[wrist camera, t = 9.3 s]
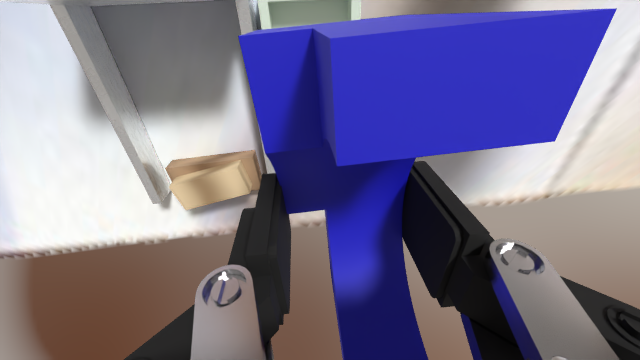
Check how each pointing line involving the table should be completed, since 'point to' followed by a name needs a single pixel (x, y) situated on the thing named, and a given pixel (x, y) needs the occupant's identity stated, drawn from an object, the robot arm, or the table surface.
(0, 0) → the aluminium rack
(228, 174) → the oak offcut
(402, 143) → the cable clip
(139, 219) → the table surface
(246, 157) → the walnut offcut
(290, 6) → the sage tray
